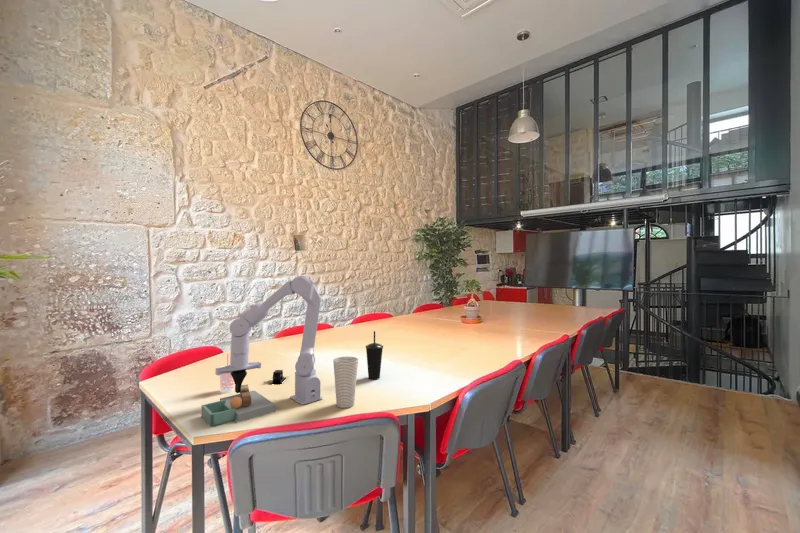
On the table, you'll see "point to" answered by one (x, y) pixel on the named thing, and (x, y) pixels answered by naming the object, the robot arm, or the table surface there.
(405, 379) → the table surface
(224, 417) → the teal dish
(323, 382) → the table surface
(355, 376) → the cup
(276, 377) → the black blocky device
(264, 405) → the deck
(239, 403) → the ball
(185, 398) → the table surface
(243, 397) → the lever
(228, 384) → the beverage cup
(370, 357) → the drinking cup
